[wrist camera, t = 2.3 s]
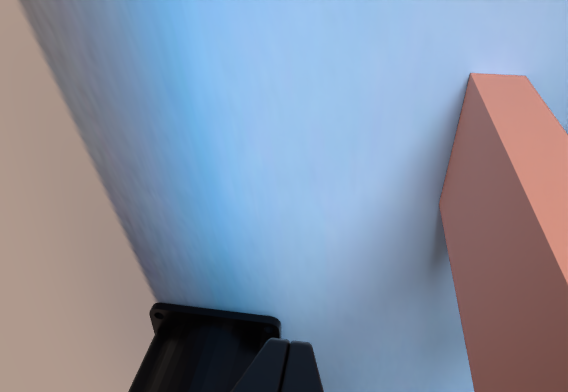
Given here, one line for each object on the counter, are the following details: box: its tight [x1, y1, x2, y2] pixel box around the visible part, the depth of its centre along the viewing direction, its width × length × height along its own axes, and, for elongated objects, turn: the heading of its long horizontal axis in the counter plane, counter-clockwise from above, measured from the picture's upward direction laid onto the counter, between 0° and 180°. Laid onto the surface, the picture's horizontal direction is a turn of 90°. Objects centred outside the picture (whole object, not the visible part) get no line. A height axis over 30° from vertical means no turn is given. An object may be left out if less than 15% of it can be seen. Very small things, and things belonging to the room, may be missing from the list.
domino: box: [439, 73, 568, 392], centre depth 11 cm, size 2×5×10 cm, turn 1°
